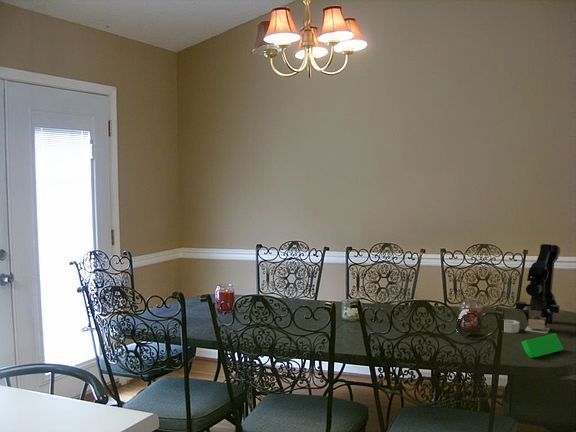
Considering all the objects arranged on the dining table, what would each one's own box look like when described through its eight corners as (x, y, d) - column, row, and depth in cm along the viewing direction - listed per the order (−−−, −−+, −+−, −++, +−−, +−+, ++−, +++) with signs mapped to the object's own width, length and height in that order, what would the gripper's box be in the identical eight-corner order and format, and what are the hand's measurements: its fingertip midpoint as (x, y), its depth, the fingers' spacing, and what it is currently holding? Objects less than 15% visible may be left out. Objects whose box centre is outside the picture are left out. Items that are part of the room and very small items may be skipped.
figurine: (474, 337, 261) (474, 311, 261) (457, 336, 263) (457, 310, 262) (472, 332, 268) (472, 307, 268) (455, 332, 270) (456, 307, 269)
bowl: (502, 328, 276) (502, 319, 276) (520, 330, 272) (520, 321, 272) (499, 332, 269) (499, 322, 269) (517, 334, 265) (517, 324, 265)
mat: (527, 326, 279) (527, 325, 279) (550, 329, 274) (550, 328, 274) (524, 331, 270) (524, 330, 270) (547, 334, 265) (547, 333, 265)
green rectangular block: (545, 356, 245) (537, 340, 248) (563, 349, 238) (555, 333, 241) (515, 364, 235) (507, 347, 238) (533, 357, 227) (525, 339, 230)
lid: (530, 324, 277) (530, 314, 276) (546, 326, 273) (546, 316, 273) (528, 327, 271) (528, 317, 270) (544, 329, 267) (544, 319, 267)
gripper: (514, 293, 269) (513, 326, 270) (557, 297, 259) (557, 331, 260) (518, 289, 278) (517, 321, 279) (560, 293, 269) (559, 325, 270)
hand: (537, 324), depth 272 cm, fingers closed on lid, 7 cm apart
